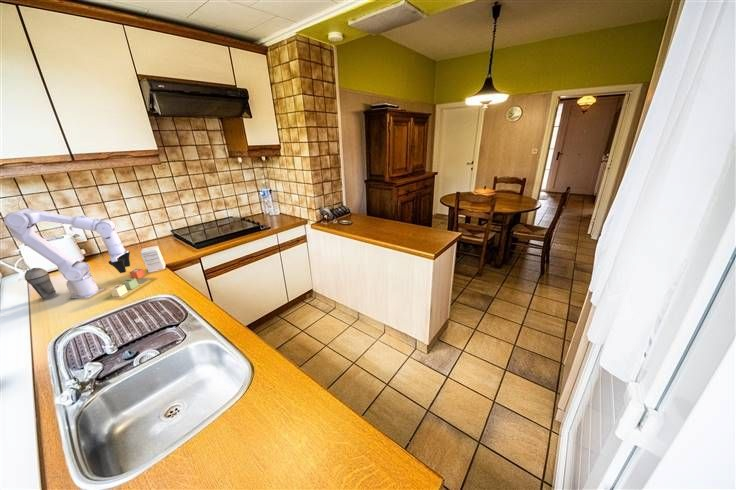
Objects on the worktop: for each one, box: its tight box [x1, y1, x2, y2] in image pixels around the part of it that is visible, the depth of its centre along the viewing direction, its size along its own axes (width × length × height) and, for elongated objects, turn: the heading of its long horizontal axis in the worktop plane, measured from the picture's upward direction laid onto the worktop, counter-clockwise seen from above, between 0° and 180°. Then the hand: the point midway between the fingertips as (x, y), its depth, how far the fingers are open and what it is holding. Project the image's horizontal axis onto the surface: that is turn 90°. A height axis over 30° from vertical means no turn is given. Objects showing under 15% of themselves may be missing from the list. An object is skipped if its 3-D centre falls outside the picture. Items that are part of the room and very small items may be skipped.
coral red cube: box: [128, 268, 146, 279], centre depth 142 cm, size 4×4×4 cm
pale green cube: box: [120, 277, 140, 291], centre depth 131 cm, size 4×4×4 cm
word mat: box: [111, 278, 151, 298], centre depth 131 cm, size 9×18×1 cm, turn 175°
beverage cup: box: [22, 260, 58, 301], centre depth 124 cm, size 7×7×20 cm
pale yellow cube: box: [108, 284, 129, 298], centre depth 125 cm, size 4×4×4 cm
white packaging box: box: [140, 245, 167, 274], centre depth 148 cm, size 7×7×13 cm
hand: (125, 269), depth 133 cm, fingers open, 7 cm apart
